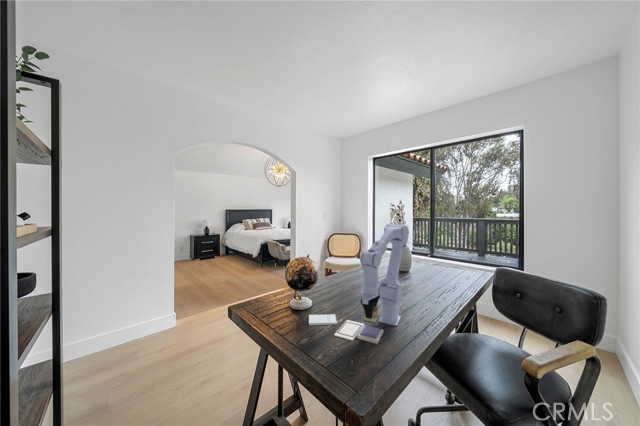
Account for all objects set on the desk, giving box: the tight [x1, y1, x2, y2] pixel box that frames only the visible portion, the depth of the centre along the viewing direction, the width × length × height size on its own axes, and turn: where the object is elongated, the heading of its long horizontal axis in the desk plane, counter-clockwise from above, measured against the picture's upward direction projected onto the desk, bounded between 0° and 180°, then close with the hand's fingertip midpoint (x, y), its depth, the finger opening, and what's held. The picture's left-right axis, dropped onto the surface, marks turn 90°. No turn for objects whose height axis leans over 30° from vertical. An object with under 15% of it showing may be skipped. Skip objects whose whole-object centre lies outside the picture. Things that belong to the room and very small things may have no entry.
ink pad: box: [356, 324, 384, 345], centre depth 95 cm, size 9×8×2 cm
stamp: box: [363, 306, 379, 325], centre depth 95 cm, size 4×4×5 cm
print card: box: [333, 319, 365, 342], centre depth 99 cm, size 14×8×1 cm, turn 151°
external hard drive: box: [308, 313, 338, 326], centre depth 108 cm, size 2×8×12 cm
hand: (370, 315), depth 95 cm, fingers closed on stamp, 4 cm apart
